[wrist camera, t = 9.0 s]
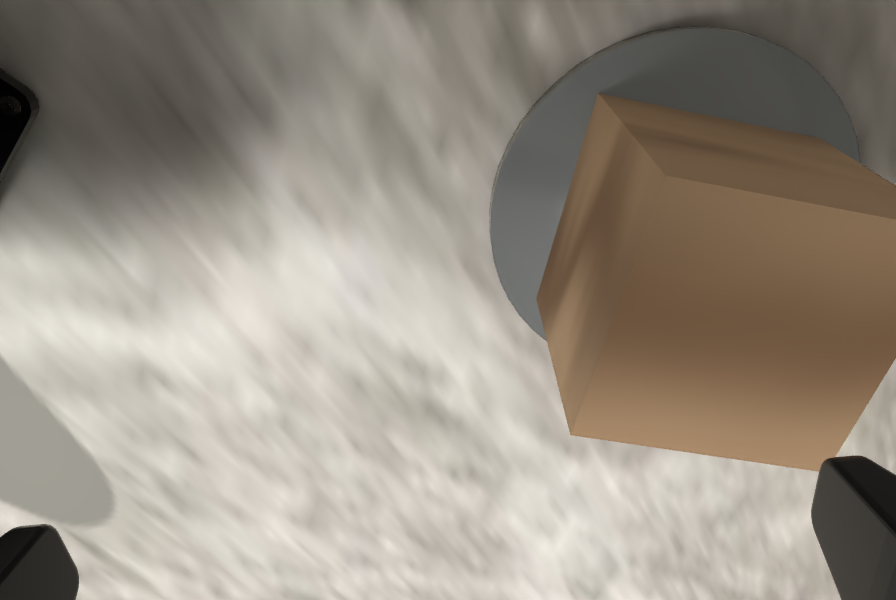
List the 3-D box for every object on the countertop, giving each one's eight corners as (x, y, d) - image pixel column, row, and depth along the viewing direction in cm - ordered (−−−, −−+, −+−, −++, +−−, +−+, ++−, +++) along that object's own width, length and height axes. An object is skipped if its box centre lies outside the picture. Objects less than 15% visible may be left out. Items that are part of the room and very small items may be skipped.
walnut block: (729, 331, 21) (825, 472, 16) (535, 298, 21) (570, 435, 15) (819, 138, 18) (971, 234, 13) (597, 93, 18) (665, 175, 13)
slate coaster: (655, 411, 24) (660, 423, 23) (416, 238, 20) (416, 247, 20) (921, 189, 20) (935, 196, 19) (682, -67, 17) (689, -65, 16)
